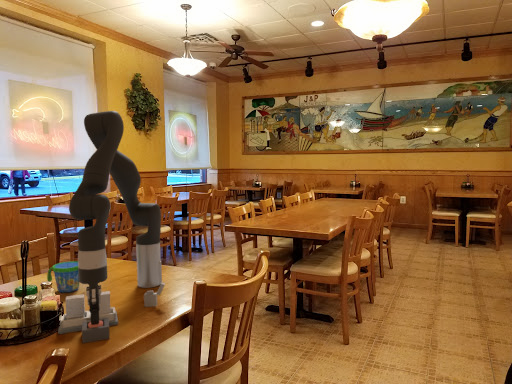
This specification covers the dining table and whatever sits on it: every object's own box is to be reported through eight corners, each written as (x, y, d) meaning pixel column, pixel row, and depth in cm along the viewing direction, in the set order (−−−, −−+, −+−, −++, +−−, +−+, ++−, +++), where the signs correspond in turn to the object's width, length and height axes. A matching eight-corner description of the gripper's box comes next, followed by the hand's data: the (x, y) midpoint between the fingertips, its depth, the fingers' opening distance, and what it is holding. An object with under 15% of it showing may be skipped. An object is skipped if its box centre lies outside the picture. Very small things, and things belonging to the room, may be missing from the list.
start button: (103, 327, 113) (103, 319, 113) (103, 333, 110) (103, 324, 110) (88, 330, 112) (88, 321, 112) (88, 335, 108) (87, 327, 108)
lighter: (144, 306, 133) (143, 284, 132) (145, 305, 134) (144, 282, 134) (165, 305, 133) (164, 283, 133) (165, 303, 135) (165, 281, 134)
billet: (85, 319, 120) (84, 294, 120) (85, 322, 117) (83, 297, 117) (67, 321, 118) (66, 296, 118) (66, 325, 116) (65, 299, 115)
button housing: (108, 328, 115) (108, 317, 115) (109, 338, 109) (109, 326, 109) (83, 332, 113) (82, 321, 113) (82, 343, 106) (81, 331, 106)
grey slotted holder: (116, 313, 127) (115, 287, 126) (117, 324, 118) (116, 296, 118) (61, 322, 120) (59, 294, 120) (58, 334, 112) (56, 304, 111)
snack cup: (94, 286, 154) (93, 261, 154) (78, 295, 144) (77, 269, 143) (59, 284, 157) (58, 260, 156) (41, 293, 146) (39, 267, 146)
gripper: (107, 268, 104) (109, 330, 106) (106, 257, 117) (108, 313, 118) (77, 272, 102) (80, 335, 103) (79, 260, 114) (81, 317, 115)
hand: (95, 323), depth 111 cm, fingers closed
